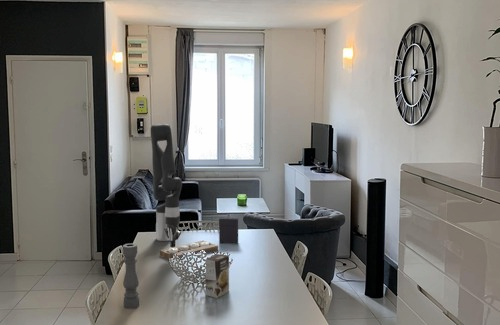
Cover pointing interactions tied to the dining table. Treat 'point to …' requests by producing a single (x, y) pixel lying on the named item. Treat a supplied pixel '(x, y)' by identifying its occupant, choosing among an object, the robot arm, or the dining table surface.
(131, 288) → the candle holder
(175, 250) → the button two dots
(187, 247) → the button blank
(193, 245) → the button three dots
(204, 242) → the button one dot
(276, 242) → the dining table surface
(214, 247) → the brown flat block
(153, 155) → the robot arm
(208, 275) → the coffee box
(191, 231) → the dining table surface
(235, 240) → the dark brown box
